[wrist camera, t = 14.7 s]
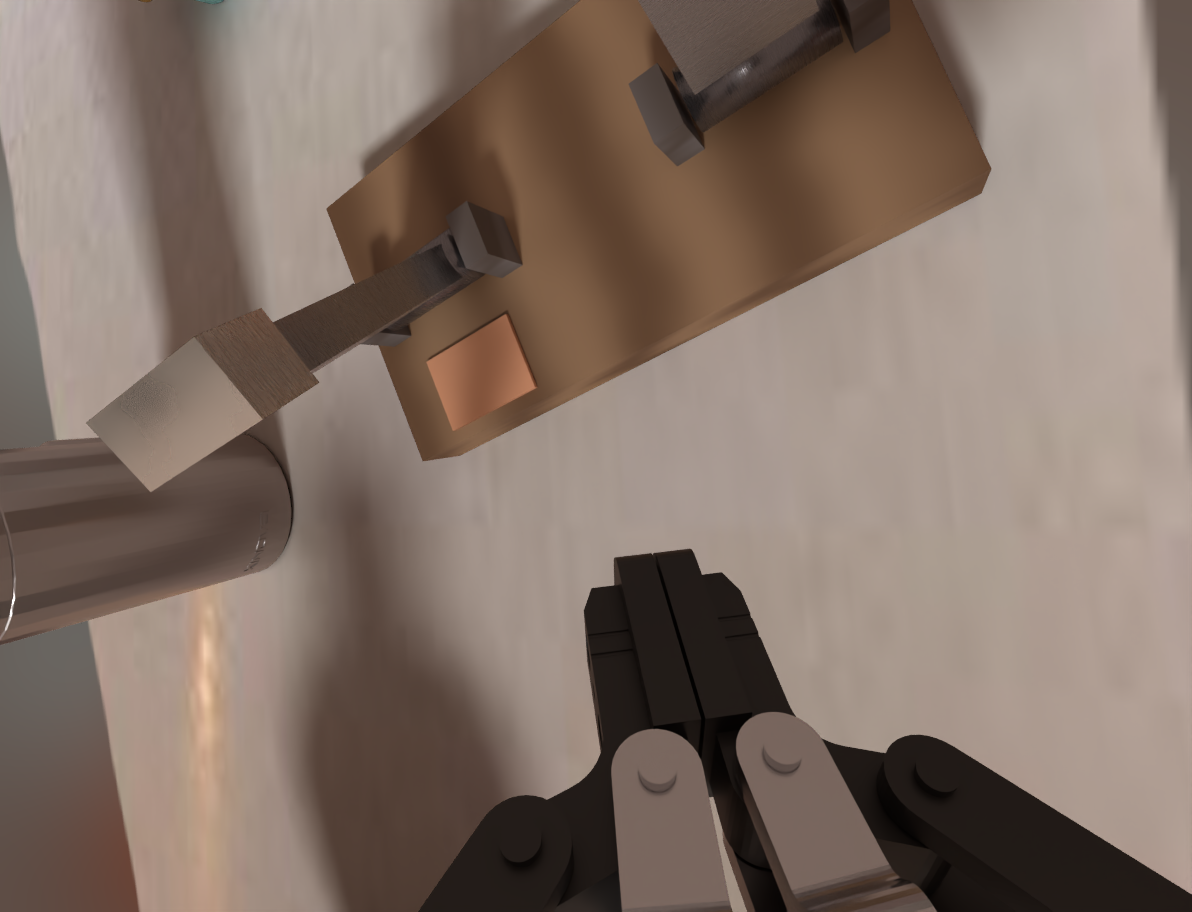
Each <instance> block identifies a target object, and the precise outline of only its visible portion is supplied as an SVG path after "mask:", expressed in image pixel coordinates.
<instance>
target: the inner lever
mask: <svg viewBox="0 0 1192 912" xmlns="http://www.w3.org/2000/svg"><path fill="white" fill-rule="evenodd" d="M484 275H485V273H481V272H478V271H474V270H470V269H467V268H466V267H465V264H464V262H463V259H462V257H461V254H460V252H459V249H458V247H457V244H456V242H455V239H454V237H453V234H452V232H451V229H450V228H448V229H447V230H445V231H444V232H443V233H441V234H440V235H438V236H437V237H436V238H434V239H433V240H431V241H430V242H429V243H427V244H426V245H424V246H423V247H422V248H420V249H419V250H417V251H416V252H415V253H413V254H412V255H410V256H409V257H408V258H406V259H405V260H403V261H402V262H401V263H399V264H397V265H395V266H393V267H390V268H388V269H386V270H384V271H382V272H380V273H378V274H375V275H373V276H371V277H369V278H367V279H365V280H363V281H361V282H358V283H356V284H354V285H352V286H350V287H348V288H346V289H343V290H341V291H339V292H337V293H335V294H333V295H331V296H329V297H326V298H324V299H322V300H320V301H318V302H316V303H314V304H311V305H309V306H307V307H305V308H303V309H301V310H299V311H296V312H294V313H292V314H290V315H288V316H286V317H284V318H282V319H279V320H277V321H275V322H272V321H271V320H270V319H269V317H268V316H267V315H266V313H265V312H264V311H263V310H262V308H260V309H258V310H255V311H253V312H251V313H248V314H246V315H244V316H241V317H239V318H237V319H234V320H232V321H230V322H227V323H225V324H223V325H220V326H218V327H216V328H213V329H211V330H209V331H206V332H204V333H202V334H199V335H197V336H195V337H193V338H192V339H191V340H189V341H188V342H187V343H186V344H184V345H183V346H182V347H180V348H179V349H178V350H177V351H175V352H174V353H173V354H172V355H170V356H169V357H168V358H167V359H165V360H164V361H163V362H162V363H160V364H159V365H158V366H157V367H155V368H154V369H153V370H152V371H150V372H149V373H148V374H147V375H145V376H144V377H143V378H142V379H140V380H139V381H138V382H137V383H135V384H134V385H133V386H132V387H130V388H129V389H128V390H127V391H125V392H124V393H123V394H122V395H120V396H119V397H118V398H116V399H115V400H114V401H113V402H111V403H110V404H109V405H108V406H106V407H105V408H104V409H103V410H101V411H100V412H99V413H98V414H96V415H95V416H94V417H93V418H91V419H90V420H89V421H88V422H86V424H87V425H88V426H89V427H90V428H91V429H92V430H93V431H94V432H95V433H96V434H97V435H98V436H99V437H100V439H101V440H102V441H103V442H104V443H105V444H106V445H107V446H108V447H109V448H110V449H111V450H112V451H113V452H114V453H115V455H116V456H117V457H118V458H119V459H120V460H121V461H122V462H123V463H124V464H125V465H126V466H127V467H128V468H129V470H130V471H131V472H132V473H133V474H134V475H135V476H136V477H137V478H138V479H139V480H140V481H141V482H142V483H143V484H144V486H145V487H146V488H147V489H148V490H149V491H150V492H152V491H153V490H155V489H156V488H158V487H159V486H161V485H162V484H164V483H166V482H167V481H169V480H170V479H172V478H173V477H175V476H176V475H178V474H179V473H181V472H182V471H184V470H186V469H187V468H189V467H190V466H192V465H193V464H195V463H196V462H198V461H199V460H201V459H203V458H204V457H206V456H207V455H209V454H210V453H212V452H213V451H215V450H216V449H218V448H220V447H221V446H223V445H224V444H226V443H227V442H229V441H230V440H232V439H233V438H235V437H236V436H238V435H240V434H241V433H243V432H244V431H246V430H247V429H249V428H250V427H252V426H253V425H255V424H257V423H258V422H260V421H261V420H263V419H264V418H266V417H267V416H269V415H270V414H272V413H273V412H275V411H277V410H278V409H280V408H281V407H283V406H284V405H286V404H287V403H289V402H290V401H292V400H293V399H295V398H296V397H298V396H300V395H301V394H303V393H304V392H306V391H307V390H309V389H310V388H312V387H313V386H315V385H316V384H318V383H319V381H318V380H317V379H316V377H315V376H314V375H313V373H314V372H316V371H318V370H319V369H321V368H322V367H324V366H326V365H327V364H329V363H330V362H332V361H334V360H335V359H337V358H338V357H340V356H342V355H343V354H345V353H347V352H348V351H350V350H351V349H353V348H355V347H356V346H358V345H359V344H361V343H363V342H364V341H366V340H367V339H369V338H371V337H372V336H374V335H376V334H377V333H379V332H380V331H382V330H384V329H385V328H387V329H390V330H393V331H398V330H401V329H402V328H404V327H405V326H407V325H409V324H410V323H412V322H413V321H415V320H416V319H418V318H419V317H421V316H422V315H424V314H425V313H427V312H429V311H430V310H432V309H433V308H435V307H436V306H438V305H439V304H441V303H442V302H444V301H446V300H447V299H449V298H450V297H452V296H453V295H455V294H456V293H458V292H459V291H461V290H462V289H464V288H466V287H467V286H469V285H470V284H472V283H473V282H475V281H476V280H478V279H479V278H481V277H483V276H484Z"/></svg>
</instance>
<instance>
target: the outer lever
mask: <svg viewBox="0 0 1192 912" xmlns="http://www.w3.org/2000/svg"><path fill="white" fill-rule="evenodd" d="M638 1H639V3H640V5H641V6H642V8H643V10H644V11H645V13H646V15H647V16H648V18H649V20H650V21H651V23H652V25H653V26H654V28H655V30H656V31H657V33H658V35H659V36H660V38H661V40H662V41H663V43H664V45H665V46H666V48H667V50H668V51H669V53H670V55H671V56H672V58H673V59H674V61H675V63H676V64H677V66H675V67H674V68H673V69H672V73H673V76H674V79H675V82H676V84H677V87H678V89H679V91H680V93H681V95H682V98H683V100H684V102H685V104H686V106H687V108H688V110H689V111H690V113H691V115H692V117H693V119H694V121H695V122H696V124H697V126H698V127H699V129H700V130H701V131H702V132H703V133H704V132H706V131H707V130H709V129H710V128H712V127H713V126H715V125H716V124H718V123H719V122H721V121H723V120H724V119H726V118H727V117H729V116H730V115H732V114H733V113H735V112H736V111H738V110H739V109H741V108H743V107H744V106H746V105H747V104H749V103H750V102H752V101H753V100H755V99H756V98H758V97H759V96H761V95H763V94H764V93H766V92H767V91H769V90H770V89H772V88H773V87H775V86H776V85H778V84H780V83H781V82H783V81H784V80H786V79H787V78H789V77H790V76H792V75H793V74H795V73H796V72H798V71H800V70H801V69H803V68H804V67H806V66H807V65H809V64H810V63H812V62H813V61H815V60H816V59H818V58H820V57H821V56H823V55H824V54H826V53H827V52H829V51H830V50H832V49H833V48H835V47H837V46H838V45H840V44H841V43H843V36H842V32H841V28H840V25H839V22H838V19H837V16H836V13H835V10H834V8H833V5H832V3H831V0H638Z"/></svg>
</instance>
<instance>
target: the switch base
mask: <svg viewBox="0 0 1192 912" xmlns="http://www.w3.org/2000/svg"><path fill="white" fill-rule="evenodd" d="M831 3H832V5H833V8H834V10H835V13H836V16H837V19H838V22H839V25H840V28H841V32H842V36H843V43H841V44H840V45H838V46H837V47H835V48H833V49H832V50H830V51H829V52H827V53H826V54H824V55H823V56H821V57H820V58H818V59H816V60H815V61H813V62H812V63H810V64H809V65H807V66H806V67H804V68H803V69H801V70H800V71H798V72H796V73H795V74H793V75H792V76H790V77H789V78H787V79H786V80H784V81H783V82H781V83H780V84H778V85H776V86H775V87H773V88H772V89H770V90H769V91H767V92H766V93H764V94H763V95H761V96H759V97H758V98H756V99H755V100H753V101H752V102H750V103H749V104H747V105H746V106H744V107H743V108H741V109H739V110H738V111H736V112H735V113H733V114H732V115H730V116H729V117H727V118H726V119H724V120H723V121H721V122H719V123H718V124H716V125H715V126H713V127H712V128H710V129H709V130H707V131H706V132H704V133H703V132H702V131H701V130H700V129H699V127H698V126H697V124H696V122H695V121H694V119H693V117H692V115H691V113H690V111H689V110H688V108H687V106H686V104H685V102H684V100H683V98H682V95H681V93H680V91H679V89H678V87H677V84H676V82H675V79H674V76H673V73H672V69H673V68H674V67H675V66H677V64H676V63H675V61H674V59H673V58H672V56H671V55H670V53H669V51H668V50H667V48H666V46H665V45H664V43H663V41H662V40H661V38H660V36H659V35H658V33H657V31H656V30H655V28H654V26H653V25H652V23H651V21H650V20H649V18H648V16H647V15H646V13H645V11H644V10H643V8H642V6H641V5H640V3H639V1H638V0H580V1H579V2H578V3H577V4H575V5H574V6H573V7H572V8H571V9H569V10H568V11H567V12H566V13H564V14H563V15H562V16H561V17H560V18H558V19H557V20H556V21H555V22H553V23H552V24H551V25H550V26H549V27H547V28H546V29H545V30H544V31H543V32H541V33H540V34H539V35H538V36H536V37H535V38H534V39H533V40H532V41H530V42H529V43H528V44H527V45H525V46H524V47H523V48H522V49H521V50H519V51H518V52H517V53H516V54H514V55H513V56H512V57H511V58H510V59H508V60H507V61H506V62H505V63H503V64H502V65H501V66H500V67H499V68H497V69H496V70H495V71H494V72H492V73H491V74H490V75H489V76H488V77H486V78H485V79H484V80H483V81H482V82H480V83H479V84H478V85H477V86H475V87H474V88H473V89H472V90H471V91H469V92H468V93H467V94H466V95H464V96H463V97H462V98H461V99H460V100H458V101H457V102H456V103H455V104H453V105H452V106H451V107H450V108H449V109H447V110H446V111H445V112H444V113H442V114H441V115H440V116H439V117H438V118H436V119H435V120H434V121H433V122H431V123H430V124H429V125H428V126H427V127H425V128H424V129H423V130H422V131H421V132H419V133H418V134H417V135H416V136H414V137H413V138H412V139H411V140H410V141H408V142H407V143H406V144H405V145H403V146H402V147H401V148H400V149H399V150H397V151H396V152H395V153H394V154H392V155H391V156H390V157H389V158H388V159H386V160H385V161H384V162H383V163H381V164H380V165H379V166H378V167H377V168H375V169H374V170H373V171H372V172H370V173H369V174H368V175H367V176H366V177H364V178H363V179H362V180H361V181H360V182H358V183H357V184H356V185H355V186H353V187H352V188H351V189H350V190H349V191H347V192H346V193H345V194H344V195H342V196H341V197H340V198H339V199H338V200H336V201H335V202H334V203H333V204H331V205H330V206H329V207H328V208H327V212H328V214H329V217H330V219H331V222H332V225H333V227H334V230H335V233H336V235H337V238H338V240H339V243H340V246H341V248H342V251H343V254H344V256H345V259H346V261H347V264H348V267H349V269H350V272H351V274H352V277H353V280H354V282H355V284H356V283H358V282H361V281H363V280H365V279H367V278H369V277H371V276H373V275H375V274H378V273H380V272H382V271H384V270H386V269H388V268H390V267H393V266H395V265H397V264H399V263H401V262H402V261H403V260H405V259H406V258H408V257H409V256H410V255H412V254H413V253H415V252H416V251H417V250H419V249H420V248H422V247H423V246H424V245H426V244H427V243H429V242H430V241H431V240H433V239H434V238H436V237H437V236H438V235H440V234H441V233H443V232H444V231H445V230H447V229H448V228H450V229H451V232H452V234H453V237H454V239H455V242H456V244H457V247H458V249H459V252H460V254H461V257H462V259H463V262H464V264H465V267H466V268H467V269H470V270H474V271H478V272H481V273H485V275H484V276H483V277H481V278H479V279H478V280H476V281H475V282H473V283H472V284H470V285H469V286H467V287H466V288H464V289H462V290H461V291H459V292H458V293H456V294H455V295H453V296H452V297H450V298H449V299H447V300H446V301H444V302H442V303H441V304H439V305H438V306H436V307H435V308H433V309H432V310H430V311H429V312H427V313H425V314H424V315H422V316H421V317H419V318H418V319H416V320H415V321H413V322H412V323H410V324H409V325H407V326H405V327H404V328H402V329H401V330H398V331H393V330H390V329H387V328H385V329H384V330H382V331H380V332H379V333H377V334H376V335H374V336H372V337H371V338H369V339H367V340H366V341H364V342H363V343H361V344H367V345H379V348H380V350H381V353H382V356H383V358H384V361H385V363H386V366H387V369H388V371H389V374H390V377H391V379H392V382H393V384H394V387H395V390H396V392H397V395H398V398H399V400H400V403H401V405H402V408H403V411H404V413H405V416H406V418H407V421H408V424H409V426H410V429H411V432H412V434H413V437H414V439H415V442H416V445H417V447H418V450H419V453H420V455H421V458H422V460H423V461H428V460H434V459H441V458H447V457H454V456H460V455H462V454H464V453H466V452H468V451H470V450H472V449H474V448H476V447H478V446H480V445H482V444H484V443H486V442H488V441H490V440H492V439H494V438H496V437H498V436H500V435H502V434H504V433H506V432H508V431H510V430H512V429H514V428H516V427H518V426H520V425H522V424H524V423H526V422H528V421H530V420H532V419H534V418H536V417H538V416H540V415H541V414H543V413H545V412H547V411H549V410H551V409H553V408H555V407H557V406H559V405H561V404H563V403H565V402H567V401H569V400H571V399H573V398H575V397H577V396H579V395H581V394H583V393H585V392H587V391H589V390H591V389H593V388H595V387H597V386H599V385H601V384H603V383H605V382H607V381H609V380H611V379H613V378H615V377H617V376H619V375H621V374H623V373H625V372H627V371H629V370H631V369H633V368H635V367H637V366H639V365H641V364H643V363H645V362H647V361H649V360H651V359H653V358H655V357H657V356H659V355H661V354H663V353H665V352H667V351H669V350H671V349H673V348H675V347H677V346H679V345H681V344H683V343H685V342H687V341H689V340H691V339H693V338H695V337H697V336H699V335H701V334H703V333H705V332H707V331H709V330H711V329H713V328H715V327H717V326H719V325H721V324H723V323H724V322H726V321H728V320H730V319H732V318H734V317H736V316H738V315H740V314H742V313H744V312H746V311H748V310H750V309H752V308H754V307H756V306H758V305H760V304H762V303H764V302H766V301H768V300H770V299H772V298H774V297H776V296H778V295H780V294H782V293H784V292H786V291H788V290H790V289H792V288H794V287H796V286H798V285H800V284H802V283H804V282H806V281H808V280H810V279H812V278H814V277H816V276H818V275H820V274H822V273H824V272H826V271H828V270H830V269H832V268H834V267H836V266H838V265H840V264H842V263H844V262H846V261H848V260H850V259H852V258H854V257H856V256H858V255H860V254H862V253H864V252H866V251H868V250H870V249H872V248H874V247H876V246H878V245H880V244H882V243H884V242H886V241H888V240H890V239H892V238H894V237H896V236H898V235H900V234H902V233H904V232H906V231H907V230H909V229H911V228H913V227H915V226H917V225H919V224H921V223H923V222H925V221H927V220H929V219H931V218H933V217H935V216H937V215H939V214H941V213H943V212H945V211H947V210H949V209H951V208H953V207H955V206H957V205H959V204H961V203H963V202H965V201H967V200H969V199H971V198H973V197H975V196H977V195H979V194H981V193H982V190H983V188H984V186H985V183H986V181H987V178H988V176H989V173H990V171H991V167H990V165H989V163H988V160H987V158H986V156H985V154H984V152H983V150H982V148H981V146H980V144H979V141H978V139H977V137H976V135H975V133H974V131H973V129H972V127H971V125H970V122H969V120H968V118H967V116H966V114H965V112H964V110H963V108H962V106H961V103H960V101H959V99H958V97H957V95H956V93H955V91H954V89H953V86H952V84H951V82H950V80H949V78H948V76H947V74H946V72H945V70H944V67H943V65H942V63H941V61H940V59H939V57H938V55H937V53H936V51H935V48H934V46H933V44H932V42H931V40H930V38H929V36H928V34H927V32H926V29H925V27H924V25H923V23H922V21H921V19H920V17H919V15H918V13H917V10H916V8H915V6H914V4H913V2H912V0H831ZM352 285H354V284H351V285H350V286H352ZM350 286H349V287H350ZM347 288H348V287H347Z"/></svg>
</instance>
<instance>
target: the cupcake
mask: <svg viewBox="0 0 1192 912" xmlns="http://www.w3.org/2000/svg"><path fill="white" fill-rule="evenodd" d="M139 1H142V2H150V1H152V0H139ZM197 1H201V2H205V3H209V4H216V3H220V2H222V1H223V0H197Z"/></svg>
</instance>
